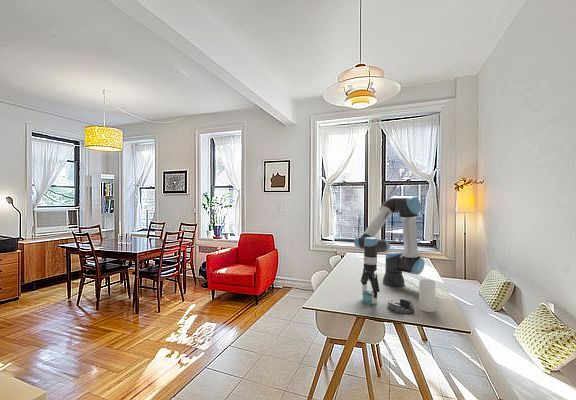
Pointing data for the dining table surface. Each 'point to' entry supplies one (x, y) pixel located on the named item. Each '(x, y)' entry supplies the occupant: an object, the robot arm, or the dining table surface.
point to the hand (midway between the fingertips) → (369, 299)
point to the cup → (427, 295)
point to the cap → (367, 298)
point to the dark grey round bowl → (401, 306)
